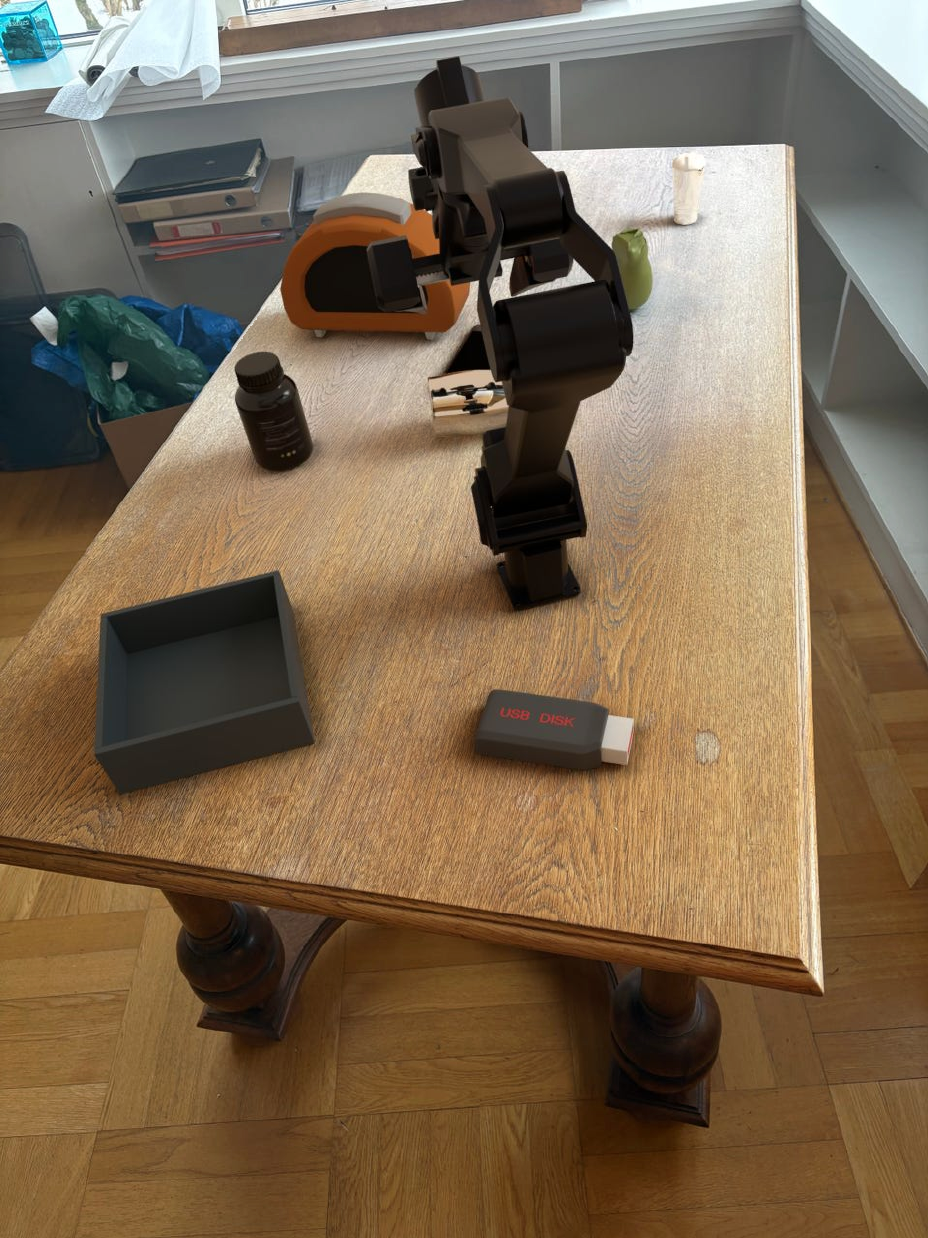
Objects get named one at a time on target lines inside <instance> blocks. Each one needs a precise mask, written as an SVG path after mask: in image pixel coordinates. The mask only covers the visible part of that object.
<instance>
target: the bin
mask: <svg viewBox="0 0 928 1238" xmlns="http://www.w3.org/2000/svg"><path fill="white" fill-rule="evenodd" d="M295 618H296V617H295V613H294V609H293V607H292V604H291V601H290V597H289V595H288V592H287V589H286V586H285V583H284V580H283V578H282V575H281V572H280V570H279V569H277V570H274V571H269V572H266V573H261V574H257V575H253V576H249V577H245V578H241V579H236V580H232V581H229V582H228V581H227V582H224V583H220V584H217V585H212V586H208V587H205V588H200V589H196V590H193V591H188V592H184V593H181V594H177V595H172V596H168V597H164V598H159V599H155V600H152V601H148V602H143V603H140V604H135V605H132V606H128V607H123V608H119V609H115V610H111V611H108V612H103V613H100V618H99V619H100V621H99V639H98V640H99V641H98V644H99V645H98V660H97V661H98V662H97V664H98V665H97V682H96V699H95V700H96V702H95V703H96V704H95V706H96V707H95V723H94V724H95V726H94V742H93V743H94V744H93V756H94V757H95V759H96V761H97V762H98V763H99V765H100V767H101V768H102V770H103V771H104V772H105V774H106V775H107V777H108V778H109V780H110V782H111V783H112V784H113V787H114V788H115V789H116V790H117V793H118V794H119V795H123V794H124V795H125V794H128V793H131V792H135V791H139V790H142V789H147V788H150V787H154V786H157V785H161V784H165V783H170V782H173V781H177V780H180V779H184V778H188V777H193V776H195V775H199V774H203V773H207V772H211V771H215V770H219V769H222V768H226V767H230V766H234V765H238V764H241V763H245V762H249V761H252V760H257V759H260V758H264V757H268V756H272V755H275V754H279V753H283V752H287V751H290V750H295V749H298V748H301V747H305V746H309V745H314V744H316V742H315V741H316V740H315V734H314V728H313V722H312V718H311V717H312V716H311V711H310V705H309V697H308V692H307V691H308V690H307V687H306V679H305V674H304V668H303V661H302V655H301V649H300V642H299V637H298V631H297V625H296V620H295Z"/></svg>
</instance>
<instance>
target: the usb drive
mask: <svg viewBox="0 0 928 1238" xmlns="http://www.w3.org/2000/svg"><path fill="white" fill-rule="evenodd" d="M634 729H635V718H633V717H625V716H618V715H611V714H610V708H608V707H605V706H604V705H601V704H599V703H597V702H592V701H586V700H579V699H571V698H564V697H556V696H551V695H544V694H543V695H542V694H535V693H529V692H521V691H514V690H506V689H491V691H489V693H488V695H487V697H486V702H485V704H484V707H483V710H482V713H481V717H480V720H479V723H478V726H477V729H476V731H475V736H474V740H473V748H474V753H475V754H478V755H483V756H489V757H495V758H503V759H507V760H514V761H520V762H527V763H533V764H539V765H546V766H552V767H557V768H558V767H559V768H563V769H571V770H577V771H589V770H593V769H596V768H600V767H602V762H603V763H610V764H616V765H617V764H618V765H623V766H628V764H629V758H630V753H631V747H632V743H633V738H634V736H633V735H634Z"/></svg>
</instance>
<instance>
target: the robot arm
mask: <svg viewBox="0 0 928 1238" xmlns="http://www.w3.org/2000/svg"><path fill="white" fill-rule="evenodd" d="M435 63H436V65H435V66H436V68H435V69H434V70H432V71H430V72H429V73H427V74H426V75H425V76H423V77H422V78H421V79H420V81H419V82H418V84H416V87H415V88H414V91H413V95H414V99H415V104H416V108H417V113H418V117H419V122H420V126H415V134H414V133H413V134H410V139H411V145H412V153H413V154H414V156H415V157H416V159H417V162H418V164H419V165H420V167H415V168H410V169H408V170H407V175H408V186H409V192H410V198H411V201H412V204H413V205H414V209H415V210H416V211H418V210H425V211H426V212H431V215H432V222H433V231H434V236H435V239H439V254H434V255H429V256H424V257H419V258H413V256H412V252H411V248H409V243H408V239H407V236H406V235H405V236H399V237H394V238H389V239H384V240H378V241H373V242H371V243H370V245H369V246H368V248H367V256H368V261H369V266H370V270H371V275H372V280H373V284H374V289H375V294H376V298H377V303H378V308H379V309H381V310H383V311H384V312H389V311H396V312H401V311H410V312H417V313H421V314H427V312H428V310H427V305H426V301H425V296H424V293H423V289H422V285H427V284H433V283H438V282H443V281H448V280H450V283H451V286H454V285H459V284H464V283H469V282H470V283H474V282H478V286H477V288H478V289H477V298H476V299H477V301H476V312H477V317H478V321H479V322H478V323H479V324H480V326H481V330H482V335H483V339H484V344H485V348H486V352H487V357H488V361H489V365H490V369H491V373H492V376H493V379H494V381H495V382H501V381H502V385H503V389H504V394H505V398H506V402H507V405H508V406H509V408H508V415H507V422H506V427H502V428H497V429H492V430H487V431H486V432H485V433H483V434H482V446H481V447H480V448H481V456H480V467H475V468H474V475H475V476H473V482H472V484H471V485H470V491H471V496H472V501H473V506H474V511H475V515H476V521H477V526H478V535H479V540H480V544H481V545H483V546H485V547H488V548H489V550H490V551H491V553H492V556H493V557H496V556H499V555H501V554H503V556H504V560H501V561H498V562H496V567H495V568H496V571H497V573H498V576H499V578H500V582H501V583H502V586H503V588H504V591H505V593H506V595H507V599H508V601H509V603H510V605H511V608H512V609H513V610H514V611H523V610H526V609H530V608H534V607H538V606H542V605H545V604H550V603H554V602H557V601H561V600H565V599H569V598H572V597H577V596H579V595H580V594H581V592H582V590H581V586H580V584H579V581H578V580H577V577H576V576H575V574H574V572H573V569H572V567H571V566H570V563H569V560H568V544H567V543H568V541H567V540H573V539H576V538H580V539H582V538H586V537H587V531H588V521H587V517H586V512H585V508H584V502H583V499H582V494H581V488H580V484H579V480H578V475H577V469H576V465H575V461H574V458H573V455H572V453H571V450H570V449H566V447H567V444H568V441H569V438H570V436H571V432H572V430H573V426H574V424H575V420H576V417H577V414H578V412H579V411H578V410H579V408H580V405H581V402H582V401H584V400H587V399H589V398H591V397H593V396H595V395H597V394H599V393H601V392H604V391H606V390H607V389H610V388H612V386H613V385H615V382H616V381H617V380H618V379H619V378H620V376H621V375H622V374H623V371H624V369H625V367H626V362H627V357H630V356H631V355H632V354H633V349H634V339H635V338H634V325H633V319H632V314H631V310H630V309H629V305H628V301H627V297H626V293H625V289H624V285H623V281H622V277H621V273H620V269H619V265H618V261H617V257H616V255H615V253H614V251H613V250H612V247H611V246H610V245H609V244H608V243H607V242H606V241H605V240H604V239H603V238H602V237H601V236H600V235H599V234H598V233H597V232H596V231H595V230H594V229H593V228H592V226H590V224H589V223H587V222H586V221H585V219H584V218H583V217H582V216H581V215H580V214H579V213H578V212H577V210H576V206H575V202H574V197H573V193H572V190H571V189H572V188H571V185H570V181H569V178H568V175H567V174H566V172H565V171H564V170H557V171H555V170H554V169H553V168H552V167H547V166H546V164H544V163H543V161H541V160H540V158H539V157H537V156H536V154H535V153H533V152H532V151H531V150H530V149H529V137H528V130H527V124H526V120H525V117H524V114H523V111H521V110H518V109H517V107H516V105H515V104H514V102H513V101H512V99H511V98H510V97H508V96H504V97H498V98H497V97H496V98H493V99H492V98H491V99H487V100H486V98H485V93H484V89H483V85H482V81H481V78H480V76H479V74H478V73H477V71H476V70H475V69H473V68H471V67H469V66H466V65H462V62H461V57H460V56H459V55H458V56H453V57H447V58H441V59H436V61H435ZM510 259H511V260H512V259H513V262H512V264H511V265H512V266H511V271H510V276H509V283H508V284H509V285H508V288H509V293H510V297H507V298H503V299H498V300H496V301H495V302H494V304H493V300H492V295H491V288H492V285H493V282H494V280H495V278H499V277H500V278H501V277H503V273H504V272H503V271H504V270H503V266H502V262H501V261H506V260H510ZM574 261H575V262H576V263H577V264H578V265H579V267H580V268H582V270H583V271H584V272H586V274H587V275H588V276H589V277H590V278H591V279H592V280H593V281H589V282H584V283H579V284H574V285H569V286H564V287H559V288H553V289H549V290H542V291H539V292H533V293H528V294H524V293H525V292H528V291H531V290H533V289H535V288H538V287H540V286H543V285H546V284H549V283H553V282H555V281H556V280H558V279H562V278H567V277H568V276H569V274H570V273H571V272H572V270H573V266H574ZM442 272H443V273H442ZM434 273H435V274H434ZM429 274H430V275H429ZM425 275H426V276H425ZM421 276H422V277H421ZM521 294H524V295H521Z"/></svg>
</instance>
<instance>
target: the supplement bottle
mask: <svg viewBox="0 0 928 1238" xmlns="http://www.w3.org/2000/svg"><path fill="white" fill-rule="evenodd" d="M233 368H234V374H235V376H236V381H237V384H238V387H237V389H236V391H235V394H234V402H235V406H236V409H237V412H238V415H239V418H240V421H241V423H242V427H243V429H244V432H245V435H246V438H247V442H248V444H249V447H250V450H251V453H252V455H253V458H254V460H255V463H256V464H257V465H258V466H259V467H260V468H262V469H264V470H266V471H269V472H277V473H278V472H287V471H290V470H291V471H292V470H293V469H296V468H298V467H300V466H301V465H303V464H305V463H306V462H307V461H308V460H309V458H310V457H311V456H312V454H313V450H314V443H313V439H312V435H311V432H310V428H309V425H308V421H307V418H306V414H305V410H304V407H303V404H302V400H301V396H300V393H299V390H298V386H297V384H296V382H295V380H294V379H293V378H291V377H290V376H289V375H287V374H286V373H285V372H284V369H283V368H284V367H283V366H282V364H281V360H280V358H279V357H278V355H276V353H274V352H271V351H266V350H265V351H263V350H262V351H256V352H252V353H248V354H246V355H245V356H242V357H241V358H240V359H238V361H236V363H235V365H234V367H233Z"/></svg>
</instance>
